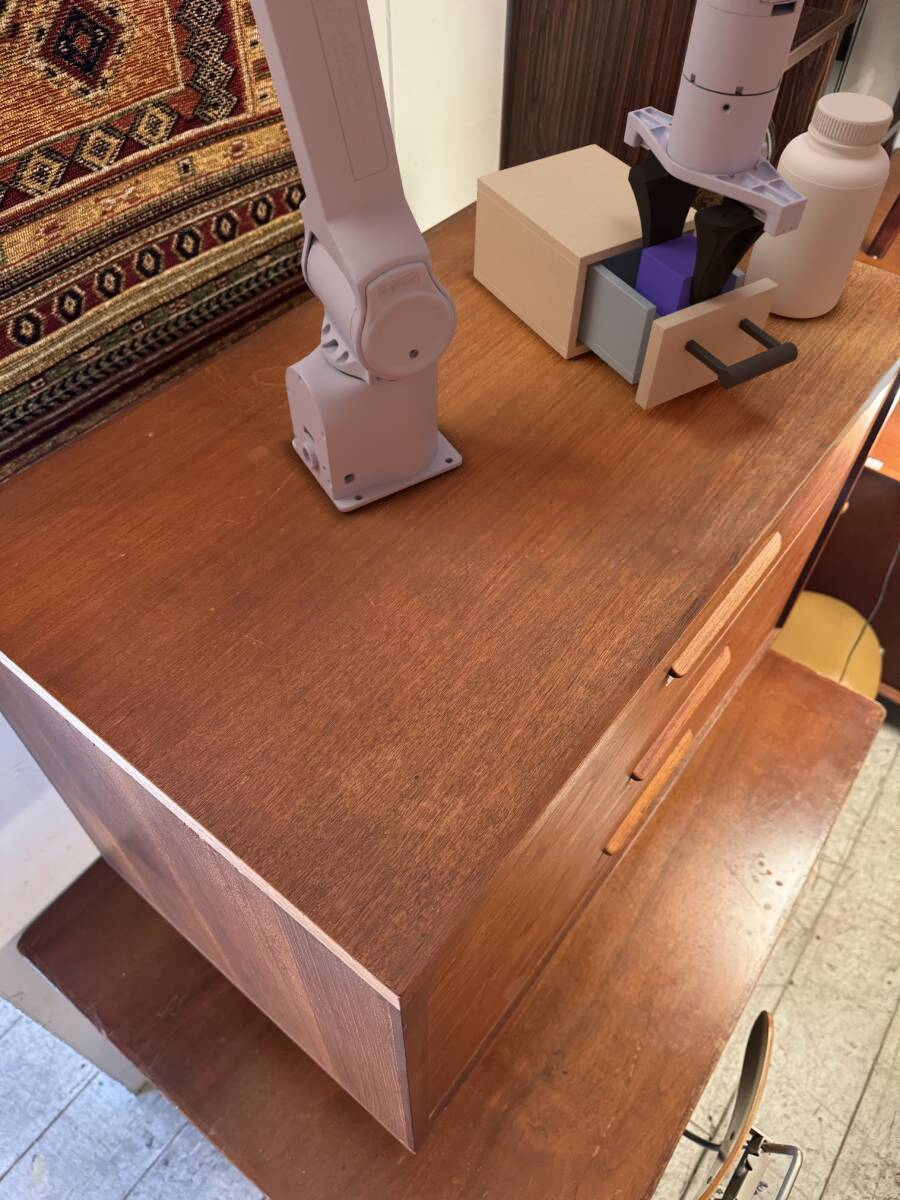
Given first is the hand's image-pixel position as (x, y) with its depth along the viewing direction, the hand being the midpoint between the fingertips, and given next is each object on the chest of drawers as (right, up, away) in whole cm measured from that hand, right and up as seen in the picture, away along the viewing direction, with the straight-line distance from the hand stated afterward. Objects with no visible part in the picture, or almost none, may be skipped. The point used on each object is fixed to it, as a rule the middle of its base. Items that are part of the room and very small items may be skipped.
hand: (680, 284), depth 62 cm
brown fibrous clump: (+4, +9, +16) cm, 19 cm away
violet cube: (0, -1, +1) cm, 1 cm away
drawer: (0, -4, +5) cm, 6 cm away
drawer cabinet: (-6, +3, +11) cm, 13 cm away
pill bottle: (+12, +3, +12) cm, 18 cm away
